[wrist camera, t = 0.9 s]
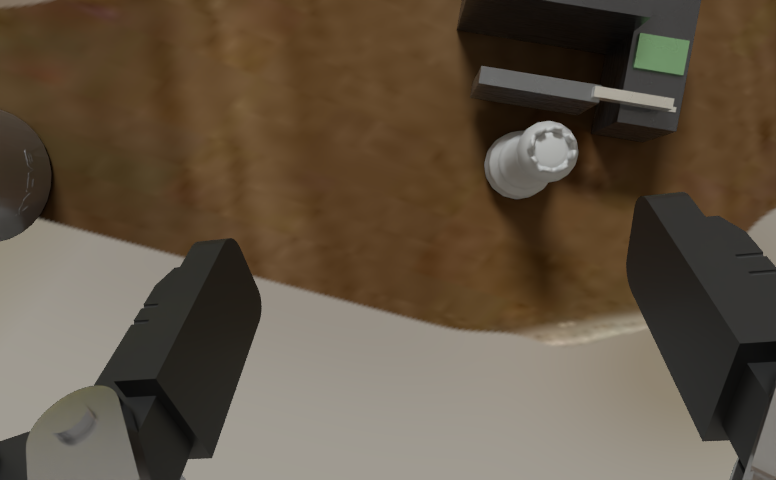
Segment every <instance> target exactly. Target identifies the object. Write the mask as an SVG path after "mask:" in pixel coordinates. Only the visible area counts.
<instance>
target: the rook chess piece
mask: <svg viewBox="0 0 776 480" xmlns="http://www.w3.org/2000/svg"><path fill="white" fill-rule="evenodd" d="M577 157H578V146H577V141H576V139H575V137H574V135H573V134H572V132H571V131H570V130H569V129H568V128H566V127H565V126H564V125H562V124H561V123H557V122H553V121H544V122H538V123H536V124H534V125H532V126H531V127H529V128H527V129H526V131H524V130H522V131H515V132H510V133H508V134H505V135H504V136H502V137H500V138H499V139H497V140H495V142H494V143H493V144H492V146H491V147H490V148H489V150H488V151H487V155H486V159H485V163H484V167H485V173H486V178H487V180H488V181H489V183H490V185H491V186H492V188H493V189H494V190H496V191H497V192H498V193H500V194H501V195H502V196H505V197H509V198H513V199H522V198H528V197H531V196H533V195H534V194H536V193H538V192H539V191H541V190H543V189H544V188H545V186H546V185H547V184H548V182H553V181H558V180H560V179H562V178H563V177H565V176H567V175H568V174H569V173H570V171H571V170H572V169H573V167H574V166H575V165H576V161H577Z"/></svg>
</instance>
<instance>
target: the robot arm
mask: <svg viewBox="0 0 776 480" xmlns="http://www.w3.org/2000/svg"><path fill="white" fill-rule="evenodd" d="M50 188H51V167H50V162H49V157H48V155H47V152H46V150H45V147H44V145H43V143H42V142H41V140H40V139H39V137H38V136H37V134H36V133H35V132H34V131H33V130H32V129H31V128H30V127H29V126H28V125H27V124H26V123H25V122H24V121H22V120H21V119H19V118H18V117H16V116H15V115H13V114H10V113H8V112H5V111H2V110H0V241H3V240H7V239H10V238H12V237H14V236H16V235H18V234H20V233H22V232H23V231H24V230H26V229H27V228H28V227H29V226H31V225H32V224H33V223H34V221H35V220H36V219H37V218H38V216H39V215H40V214H41V212H42V210H43V208H44V206H45V204H46V202H47V200H48V196H49V192H50ZM626 268H627V277H628V282H629V286H630V289H631V291H632V294H633V296H634V298H635V300H636V302H637V304H638V306H639V308H640V310H641V313H642V315H643V317H644V319H645V321H646V323H647V325H648V327H649V329H650V331H651V334H652V336H653V338H654V340H655V342H656V344H657V346H658V348H659V350H660V352H661V355H662V357H663V359H664V361H665V363H666V365H667V367H668V369H669V371H670V374H671V376H672V377H673V380H674V382H675V384H676V386H677V388H678V390H679V392H680V395H681V397H682V399H683V401H684V403H685V405H686V407H687V409H688V411H689V413H690V415H691V418H692V420H693V422H694V424H695V426H696V428H697V430H698V432H699V434H700V437H701V438H702V441H721V440H730V442H731V444H732V446H733V448H734V449H735V451H736V453H737V455H738V459H737V461H736V463H735V465H734V467H733V470H732V473H731V476H730V480H776V267H775V266H774V264H773V263H772V262H771V261H770V260H769V259H768V257H767V256H763V252H762V250H761V249H760V248H759V247H758V246H757V244H756V243H755V242H754V241H753V240H752V239H751V237H749V235H748V234H747V233H746V232H745V231H744V230H742V229H740V228H738V227H737V226H735V225H733V224H732V223H730V222H728V221H727V220H725V219H723V218H722V217H720V216H711V217H705V216H704V214H703V213H702V212H701V210H700V209H699V208H698V207H697V205H696V204H695V203H694V201H693V200H692V199H691V197H690V196H689V195H688V194H687V193H685V192H678V193H669V194H659V195H650V196H640V197H639V198H638V199H637V201H636V204H635V208H634V215H633V221H632V228H631V234H630V241H629V247H628V254H627V262H626ZM260 317H261V297H260V293H259V290H258V288H257V286H256V284H255V281H254V279H253V276H252V274H251V272H250V270H249V267H248V265H247V263H246V260H245V258H244V256H243V254H242V251H241V249H240V247H239V245H238V243H237V242H236V241H235V240H234V239H231V238H229V239H220V240H210V241H201V242H196V243H195V244H193V246H192V247H191V249H190V251H189V252H188V254H187V256H186V258H185V259H184V261H183V263H182V265H181V266H180V267H178V268H174V269H173V270H172V271H171V272H170V273H168V274H167V275H166V276H165V277H164V278H163V279H162V280H161V281H160V282H159V283H157V284H156V285H155V287H154V289H153V290H152V292H151V294H150V295H149V297H148V298H147V300H146V302H145V303H144V308H142V309H141V310H140V311H139V313H138V315H137V316H136V318H135V320H134V325H131V326H130V328H129V329H128V331H127V333H126V334H125V336H124V337H123V339H122V341H121V342H120V344H119V346H118V347H117V349H116V350H115V352H114V354H113V355H112V357H111V359H110V360H109V362H108V363H107V365H106V367H105V368H104V370H103V372H102V373H101V375H100V376H99V378H98V380H97V381H96V383H95V385H94V386H89V387H85V388H82V389H79V390H77V391H74V392H73V393H70V394H68V395H67V396H65V397H64V398H62V399H60V400H59V401H57V402H56V403H55V404H53V405H52V406H51V407H50V408H49V409H48V410H47V411H46V412H45V413H44V414H43V415H42V416H41V417H40V418H39V419H38V421H37V422H36V423H35V425H34V426H33V428H32V429H31V431H30V432H27V433H24V434H21V435H18V436H15V437H12V438H9V439H6V440H3V441H0V480H185V478H184V477H183V475H182V473H183V470H184V468H185V465H186V462H187V460H188V459H201V458H212V456H213V453H214V450H215V448H216V445H217V442H218V439H219V436H220V433H221V430H222V427H223V424H224V422H225V418H226V416H227V413H228V410H229V407H230V404H231V401H232V399H233V395H234V393H235V390H236V387H237V384H238V381H239V378H240V376H241V373H242V370H243V367H244V364H245V361H246V358H247V355H248V352H249V350H250V347H251V344H252V341H253V338H254V335H255V332H256V329H257V326H258V323H259V321H260Z"/></svg>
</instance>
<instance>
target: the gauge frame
mask: <svg viewBox="0 0 776 480" xmlns="http://www.w3.org/2000/svg"><path fill="white" fill-rule="evenodd" d="M700 3H701V0H462V3H461V8H460V14H459V20H458V26H457V30H460V31H466V32H472V33H478V34H484V35H490V36H497V37H503V38H509V39H515V40H521V41H527V42H533V43H539V44H545V45H552V46H558V47H564V48H570V49H576V50H582V51H588V52H594V53H601V54H605V60H604V65H603V71H602V76H601V82H600V85H602V87H607V88H613V89H619V90H625V91H631V92H637V93H643V94H649V95H655V96H662V97H668V98H674V104H673V109H672V110H669V111H661V110H655V109H648V108H642V107H636V106H630V105H624V104H618V103H612V102H606V101H600V100H599V103H598V104H596V109H595V115H594V120H593V126H592V131H591V134H597V135H603V136H609V137H615V138H621V139H627V140H633V141H639V142H645V141H648V140H651V139H654V138H657V137H661V136H664V135H667V134H670V133H673V132H676V130H677V125H678V120H679V114H680V109H681V104H682V98H683V93H684V88H685V82H686V77H687V72H688V67H689V61H690V56H691V51H692V45H693V40H694V35H695V30H696V24H697V19H698V14H699V8H700Z"/></svg>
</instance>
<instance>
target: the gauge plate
mask: <svg viewBox="0 0 776 480" xmlns="http://www.w3.org/2000/svg"><path fill="white" fill-rule="evenodd" d="M470 98H475V99H481V100H487V101H494V102H500V103H506V104H512V105H518V106H524V107H530V108H536V109H542V110H548V111H554V112H560V113H566V114H572V115H579V114H581V113H583V112H584V111H586V110H588V109H589V108H591V107H593V106H594V105H596V104H598V103H599V100H600V101H606V102H612V103H618V104H624V105H630V106H636V107H642V108H648V109H655V110H661V111H669V110H672V109H673V104H674V98H668V97H662V96H655V95H649V94H643V93H637V92H631V91H625V90H619V89H613V88H607V87H602V85H596V84H590V83H584V82H578V81H572V80H566V79H559V78H553V77H547V76H541V75H535V74H529V73H523V72H517V71H511V70H505V69H498V68H492V67H486V66H481V68H480V70H479V71H478V73H477V75H476V77H475V79H474V81H473V83H472V89H471V95H470Z"/></svg>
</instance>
